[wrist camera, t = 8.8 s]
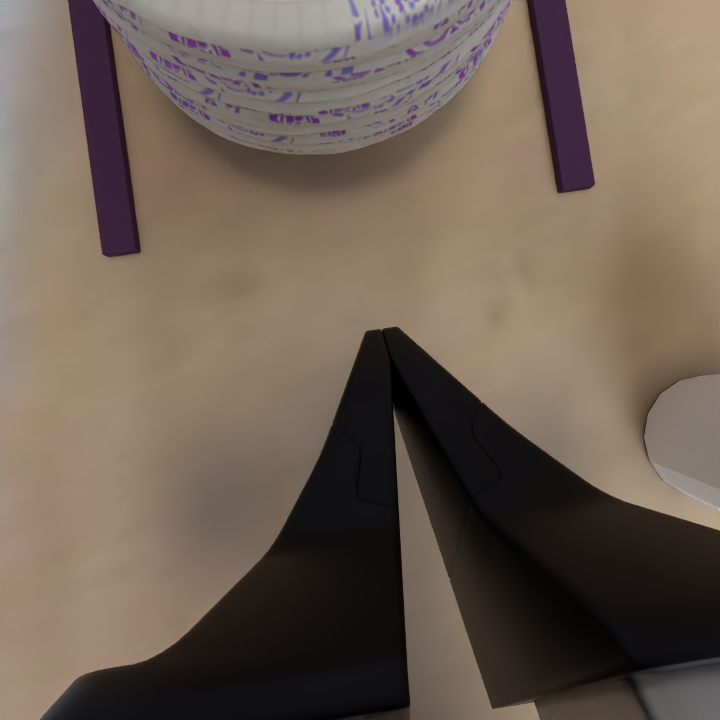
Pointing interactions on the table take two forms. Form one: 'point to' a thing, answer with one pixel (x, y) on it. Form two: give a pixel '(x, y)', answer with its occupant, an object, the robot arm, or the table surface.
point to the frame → (110, 139)
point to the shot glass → (688, 438)
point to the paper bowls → (308, 64)
